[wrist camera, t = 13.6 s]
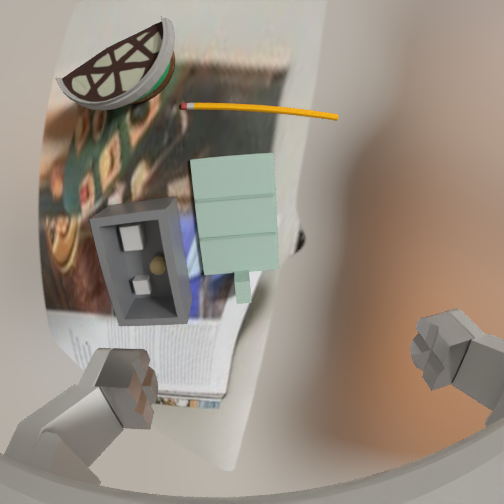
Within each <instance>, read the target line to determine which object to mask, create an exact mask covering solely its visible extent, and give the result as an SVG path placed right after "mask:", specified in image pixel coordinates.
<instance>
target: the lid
mask: <svg viewBox="0 0 504 504" xmlns="http://www.w3.org/2000/svg"><path fill="white" fill-rule="evenodd" d="M190 164H191V173H192V183H193V192H194V201H195V209H196V217H197V225H198V233H199V241H200V248H201V255H202V262H203V269H204V275H213V274H225V273H234V280H235V292H236V301H237V304H240V303H251V291H250V279H249V272H250V271H262V270H273V269H279V254H278V228H277V205H276V185H275V166H274V153H261V154H246V155H233V156H222V157H211V158H202V159H193V160H190Z"/></svg>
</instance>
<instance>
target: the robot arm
mask: <svg viewBox="0 0 504 504" xmlns="http://www.w3.org/2000/svg"><path fill="white" fill-rule="evenodd" d="M416 330H417V332H418V334H417V335H416V337H415V338H414V339H413V340H412V344H411V357H412V360H413V363H414V364H415V366H416V367H417V368H419V369H421V370H423V378H424V380H425V381H426V383H427V384H428V386H429V387H430V389H431V391H432V390H435V389H438V388H441V387H444V386H447V385H450V384H452V385H453V386H454V387H456V388H457V389H459V390H460V391H462V392H464V393H465V394H467V395H468V396H470V397H471V398H473V399H475V400H476V401H478V402H479V403H481V404H482V405H484V406H485V407H487V408H489V409H490V410H492V412H491V413H490V415H489V416H488V418H487V419H486V422H485V425H486V426H487V427H486V428H484V429H482V430H480V431H478V432H477V433H475V434H473V435H471V436H469V437H467V438H465V439H463V440H461V441H459V442H457V443H455V444H453V445H451V446H449V447H446V448H444V449H442V450H440V451H437V452H435V453H433V454H430V455H428V456H425V457H423V458H421V459H418V460H415V461H413V462H410V463H407V464H404V465H402V466H399V467H396V468H393V469H390V470H387V471H384V472H380V473H377V474H374V475H370V476H367V477H364V478H359V479H356V480H352V481H347V482H343V483H339V484H335V485H330V486H325V487H320V488H315V489H308V490H303V491H296V492H289V493H281V494H271V495H260V496H247V497H181V496H167V495H157V494H148V493H139V492H133V491H126V490H120V489H114V488H109V487H104V486H100V483H101V481H100V480H99V478H98V477H97V476H96V475H95V474H94V473H93V472H92V471H91V470H90V469H89V468H88V467H89V466H90V465H91V464H92V463H93V462H94V461H95V460H96V459H97V458H98V457H99V456H100V455H101V453H102V452H103V451H104V450H105V449H106V448H107V447H108V446H109V445H110V444H111V443H112V442H113V440H114V439H115V438H116V437H117V436H118V435H119V434H120V433H121V432H122V431H123V428H131V429H150V428H151V423H152V419H153V414H154V411H153V409H152V407H151V405H152V404H153V403H154V402H155V401H156V400H157V395H158V382H157V377H156V374H155V371H154V370H153V369H152V368H150V367H149V362H150V358H149V355H148V353H147V351H146V350H144V349H117V348H114V349H111V348H99V349H97V350H96V351H95V352H94V354H93V356H92V358H91V360H90V362H89V364H88V366H87V368H86V370H85V372H84V374H83V377H82V378H81V380H80V383H79V384H78V385H73V386H71V387H70V388H68V389H67V390H66V391H64V392H63V393H61V394H60V395H58V396H57V397H56V398H54V399H53V400H51V401H50V402H48V403H47V404H46V405H44V406H43V407H41V408H40V409H38V410H37V411H35V412H34V413H33V414H31V415H30V416H28V417H27V418H25V419H24V420H22V421H21V422H20V423H19V424H18V426H17V429H16V431H15V432H14V434H13V437H12V439H11V441H10V443H9V445H8V447H7V449H6V452H5V454H4V455H3V454H1V453H0V504H504V339H501V338H499V337H496V336H493V335H491V334H486V335H485V334H484V332H483V331H482V330H481V329H480V328H479V327H477V325H476V324H475V323H474V322H473V321H472V320H471V319H470V318H469V317H467V315H466V314H464V313H463V312H462V311H461V310H460V309H457V308H456V309H452V310H449V311H445V312H443V313H439V314H434V315H430V316H426V317H422V318H420V319H419V321H418V322H417V326H416Z"/></svg>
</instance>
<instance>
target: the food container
mask: <svg viewBox="0 0 504 504" xmlns="http://www.w3.org/2000/svg"><path fill="white" fill-rule="evenodd" d="M161 20H162V22H160V23H157V24H155V25H153V26H151V27H149V28H147V29H145V30H143V31H141V32H139V33H137V34H135V35H133V36H131V37H129V38H127V39H125V40H122V41H120V42H118V43H116V44H114V45H112V46H110V47H108V48H106V49H105V50H103V51H102V52H100V53H99V54H97V55H96V56H95V57H93V58H92V59H90V60H89V61H87V62H86V63H84V64H83V65H81V66H80V67H78V68H77V69H75V70H74V71H73V72H71V73H70V74H68V75H67V76H65V77H64V78H56V80H57V83H58V85H59V86H60V88H61V89H62V91H63V93H64V94H65V95H66V96H67V97H68V98H70V99H71V100H73V101H74V102H76V103H77V104H79V105H81V106H83V107H86V108H88V109H93V110H111V109H116V108H119V107H123V106H125V105H127V104H136V103H140V102H145V101H147V100H150V99H151V98H153V97H155V96H156V95H158V94H159V93H160V92H161V91H162V90H163V89H164V88H165V87H166V85H167V84H168V83H169V81H170V79H171V77H172V75H173V72H174V67H175V55H174V51H173V49H174V41H175V35H174V27H173V24H172V21H170V20H169V19H167V18H164V19H163V18H162V16H161Z"/></svg>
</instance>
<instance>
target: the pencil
mask: <svg viewBox="0 0 504 504" xmlns="http://www.w3.org/2000/svg"><path fill="white" fill-rule="evenodd" d="M181 109H182V110H237V111H255V112H268V113H280V114H290V115H299V116H307V117H315V118H322V119H329V120H336V121H337V120H338V115H337V114H331V113H325V112H318V111H311V110H304V109H295V108H286V107H275V106H264V105H249V104H228V103H182V104H181Z"/></svg>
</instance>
